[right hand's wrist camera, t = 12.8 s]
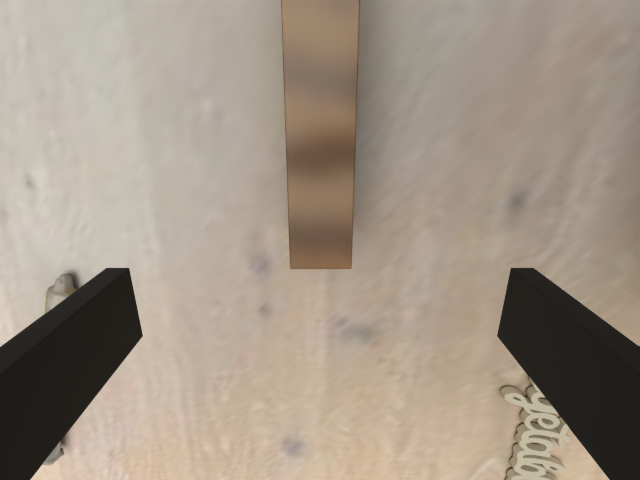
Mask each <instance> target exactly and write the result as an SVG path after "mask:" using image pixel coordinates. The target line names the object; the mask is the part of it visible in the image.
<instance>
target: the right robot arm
mask: <svg viewBox="0 0 640 480" xmlns="http://www.w3.org/2000/svg"><path fill="white" fill-rule="evenodd" d="M142 336H143V335H142V330H141V325H140V320H139V315H138V310H137V305H136V300H135V295H134V290H133V285H132V281H131V276H130V271H129V268H106V269H105V270H103V271H102V272H101V273H99V274H98V275H97V276H95V277H94V278H93V279H91V280H90V281H89V282H87V283H86V284H85V285H83V286H82V287H81V288H79V289H78V290H76V291H75V292H74V293H72V294H71V295H70V296H68V297H67V298H66V299H64V300H63V301H62V302H60V303H59V304H58V305H56V306H55V307H54V308H52V309H51V310H50V311H48V312H47V313H46V314H44V315H43V316H41V317H40V318H39V319H37V320H36V321H35V322H33V323H32V324H31V325H29V326H28V327H27V328H25V329H24V330H23V331H21V332H20V333H19V334H17V335H16V336H15V337H13V338H12V339H11V340H9V341H8V342H7V343H5V344H4V345H2V346H1V347H0V480H30V479H31V478H32V477H33V475H34V474H35V473H36V472H37V470H38V469H39V468H40V467H41V465H42V464H43V463H44V461H45V460H46V459H47V458H48V456H49V455H50V454H51V452H52V451H53V450H54V449H55V447H56V446H57V445H58V444H59V442H60V441H61V440H62V438H63V437H64V436H65V435H66V433H67V432H68V431H69V429H70V428H71V427H72V426H73V424H74V423H75V422H76V421H77V419H78V418H79V417H80V415H81V414H82V413H83V412H84V410H85V409H86V408H87V406H88V405H89V404H90V403H91V401H92V400H93V399H94V398H95V396H96V395H97V394H98V392H99V391H100V390H101V389H102V387H103V386H104V385H105V383H106V382H107V381H108V380H109V378H110V377H111V376H112V375H113V373H114V372H115V371H116V369H117V368H118V367H119V366H120V364H121V363H122V362H123V360H124V359H125V358H126V357H127V355H128V354H129V353H130V352H131V350H132V349H133V348H134V346H135V345H136V344H137V343H138V341H139V340H140V339H141V337H142ZM497 336H498V337H499V339H500V340H501V341H502V343H503V344H504V345H505V346H506V348H507V349H508V350H509V352H510V353H511V354H512V355H513V357H514V358H515V359H516V360H517V362H518V363H519V364H520V366H521V367H522V368H523V369H524V371H525V372H526V373H527V375H528V376H529V377H530V378H531V380H532V381H533V382H534V383H535V385H536V386H537V387H538V389H539V390H540V391H541V392H542V394H543V395H544V396H545V398H546V399H547V400H548V401H549V403H550V404H551V405H552V406H553V408H554V409H555V410H556V412H557V413H558V414H559V415H560V417H561V418H562V419H563V421H564V422H565V423H566V424H567V426H568V427H569V428H570V429H571V431H572V432H573V433H574V435H575V436H576V437H577V438H578V440H579V441H580V442H581V444H582V445H583V446H584V447H585V449H586V450H587V451H588V452H589V454H590V455H591V456H592V458H593V459H594V460H595V461H596V463H597V464H598V465H599V467H600V468H601V469H602V470H603V472H604V473H605V474H606V475H607V477H608V478H609V479H610V480H640V346H638V345H636V344H635V343H633V342H632V341H631V340H629V339H628V338H627V337H625V336H624V335H623V334H621V333H620V332H619V331H617V330H616V329H615V328H613V327H612V326H611V325H609V324H608V323H607V322H605V321H604V320H603V319H601V318H600V317H599V316H597V315H596V314H594V313H593V312H592V311H590V310H589V309H588V308H586V307H585V306H584V305H582V304H581V303H580V302H578V301H577V300H576V299H574V298H573V297H572V296H570V295H569V294H568V293H566V292H565V291H564V290H562V289H561V288H559V287H558V286H557V285H555V284H554V283H553V282H551V281H550V280H549V279H547V278H546V277H545V276H543V275H542V274H541V273H539V272H538V271H537V270H535V269H534V268H511V271H510V276H509V281H508V285H507V290H506V295H505V300H504V305H503V310H502V315H501V320H500V325H499V330H498V335H497Z"/></svg>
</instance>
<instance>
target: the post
mask: <svg viewBox="0 0 640 480" xmlns="http://www.w3.org/2000/svg"><path fill="white" fill-rule="evenodd" d="M281 7H282V37H283V67H284V97H285V127H286V157H287V187H288V217H289V247H290V269H351V266H352V234H353V202H354V170H355V138H356V106H357V74H358V41H359V9H360V0H281Z"/></svg>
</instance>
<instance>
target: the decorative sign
mask: <svg viewBox="0 0 640 480" xmlns="http://www.w3.org/2000/svg"><path fill="white" fill-rule="evenodd" d="M529 381H530V383H531V384H532V385H533V386H531V387H529V388H528V389H527V392H526V393H527V396H528V397H529V398H528V397H524V396H523V395H522V393H521V392H520V391H519V390H518V389H516V388H514V387H511V386H507V387H504V388H502V389H501V394H502V395H503V397H504V398H505V400H506V401H507V402H509V403H511V404H514V405H517V406H520V407H523V408H524V410H523V411H522V412H521V414H520V417H521V419H522V421H523V422H524V424H521V425H520V426H519V427H518V428H517V434H516V435H515V439H516V440H517V442H518V444H515V445H514V446H513V452H514V453H513V457H512V458H511V459H510V463H511V465H512V467H513V468H512V469H509V470H508V471H507V477H508V478H506V480H557V479H556V477H555V476H553V475H551V474H549V473H547V472H546V470H545V469H544V467H545V468H547V469H548V470H550V471H552V472H555V473H560V474H561V473H565V472H566V469H565V467H564V466H563V464H562V463H561V461H560V460H558V459H556V458H554V457H552V456H551V454H550V451H551V450H552V449H553V447H554V445H553V443H552V442H551V440H550V439H549V438H548V437H554V439H555V441H556V442H557V444H558V445H559V446H560V448H561V449H564V441H565V442H566V443H567V442H569V441H570V440H571V438H570V437H569V436H568V434H567V431H568V429H569V427H568V426H567V424H566V423H565V422H564V421H563V419H562V418H559V419H558V418H557V416H556V415H555V414H558V413H557V412H556V410H555V409H554V408H553V406H552V405H551V404H550V403H549V401H548V400H545V399H541V398H540V397H545V396H544V395H543V394H542V392H541V391H540V390H539V389H538V387H537V386H536V385H535V383H534V382H533V381H532V380H531V378H530V377H529ZM533 419H536V420H537V422H538V423H532V422H531V420H533ZM532 443H540V444H532ZM542 464H543V465H544V467H543V465H542Z"/></svg>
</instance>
